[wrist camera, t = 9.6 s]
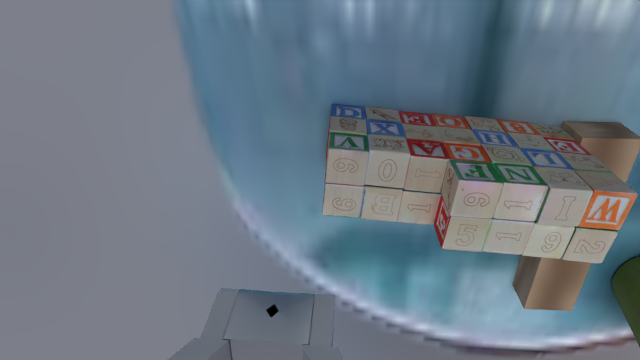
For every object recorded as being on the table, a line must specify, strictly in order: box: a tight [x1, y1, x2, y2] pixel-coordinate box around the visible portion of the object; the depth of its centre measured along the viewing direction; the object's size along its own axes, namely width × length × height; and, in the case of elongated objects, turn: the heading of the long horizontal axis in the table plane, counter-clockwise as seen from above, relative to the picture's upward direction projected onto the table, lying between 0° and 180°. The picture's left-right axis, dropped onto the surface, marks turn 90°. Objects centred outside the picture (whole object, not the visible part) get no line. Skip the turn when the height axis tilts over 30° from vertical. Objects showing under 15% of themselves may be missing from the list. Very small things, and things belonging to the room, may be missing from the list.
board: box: [512, 121, 640, 311], centre depth 43 cm, size 5×20×4 cm, turn 0°
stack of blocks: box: [323, 104, 638, 263], centre depth 36 cm, size 21×6×12 cm, turn 85°
